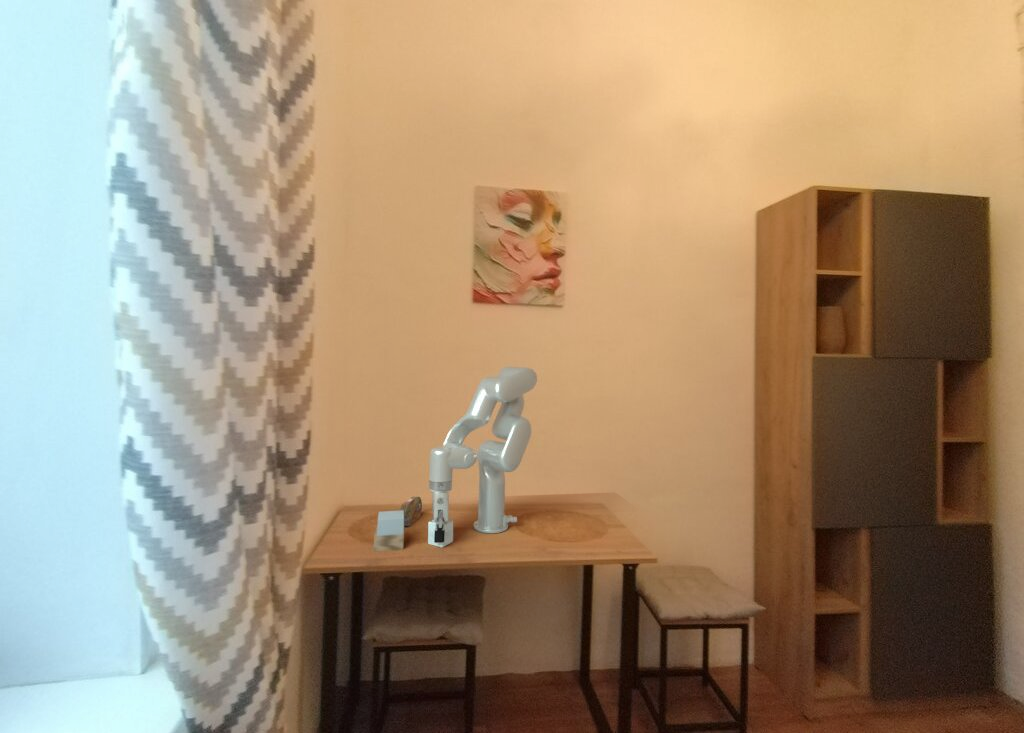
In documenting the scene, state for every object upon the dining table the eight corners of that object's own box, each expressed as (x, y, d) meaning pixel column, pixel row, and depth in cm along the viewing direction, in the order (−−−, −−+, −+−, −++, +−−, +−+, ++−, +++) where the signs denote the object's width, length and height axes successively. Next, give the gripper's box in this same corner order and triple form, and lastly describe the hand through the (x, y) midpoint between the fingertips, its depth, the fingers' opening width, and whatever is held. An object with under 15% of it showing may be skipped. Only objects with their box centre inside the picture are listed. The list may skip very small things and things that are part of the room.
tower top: (403, 525, 150) (403, 510, 150) (403, 534, 142) (403, 518, 142) (378, 526, 148) (378, 511, 148) (377, 536, 140) (377, 520, 140)
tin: (405, 529, 158) (406, 506, 158) (397, 528, 159) (397, 505, 158) (422, 515, 173) (423, 494, 173) (414, 514, 173) (415, 493, 173)
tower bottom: (404, 539, 150) (404, 524, 150) (403, 550, 141) (403, 535, 141) (376, 540, 149) (376, 525, 148) (373, 552, 140) (374, 536, 140)
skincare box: (453, 541, 149) (453, 520, 149) (441, 548, 143) (442, 525, 143) (439, 537, 152) (439, 516, 152) (427, 543, 147) (427, 521, 146)
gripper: (453, 492, 140) (451, 546, 140) (450, 478, 157) (448, 526, 157) (429, 492, 138) (427, 547, 139) (428, 478, 155) (427, 527, 156)
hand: (438, 536), depth 148 cm, fingers open, 9 cm apart
